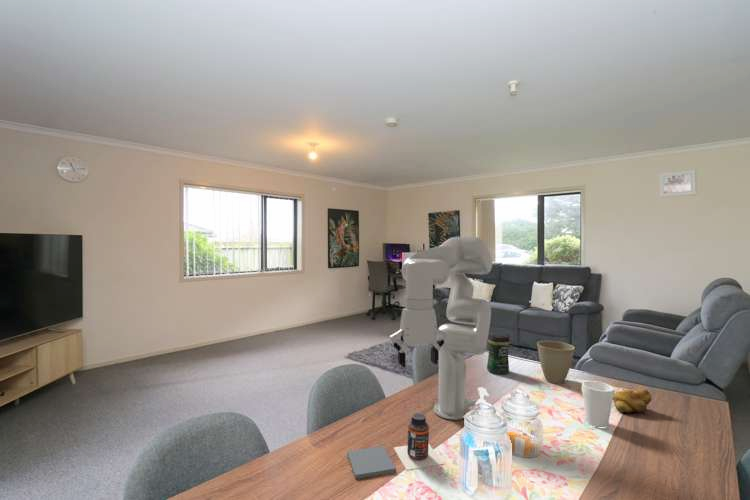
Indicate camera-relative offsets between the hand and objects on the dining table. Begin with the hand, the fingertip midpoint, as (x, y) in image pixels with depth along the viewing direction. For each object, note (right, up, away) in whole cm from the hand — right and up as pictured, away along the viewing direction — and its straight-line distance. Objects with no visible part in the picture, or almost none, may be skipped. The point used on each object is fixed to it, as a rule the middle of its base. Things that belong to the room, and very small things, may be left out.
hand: (418, 364), depth 104 cm
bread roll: (+81, -27, +31) cm, 91 cm away
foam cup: (+63, -27, +20) cm, 71 cm away
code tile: (0, -26, +1) cm, 26 cm away
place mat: (-14, -26, -3) cm, 30 cm away
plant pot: (+68, -26, +59) cm, 93 cm away
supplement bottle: (0, -26, +1) cm, 26 cm away
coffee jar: (+46, -25, +69) cm, 87 cm away
